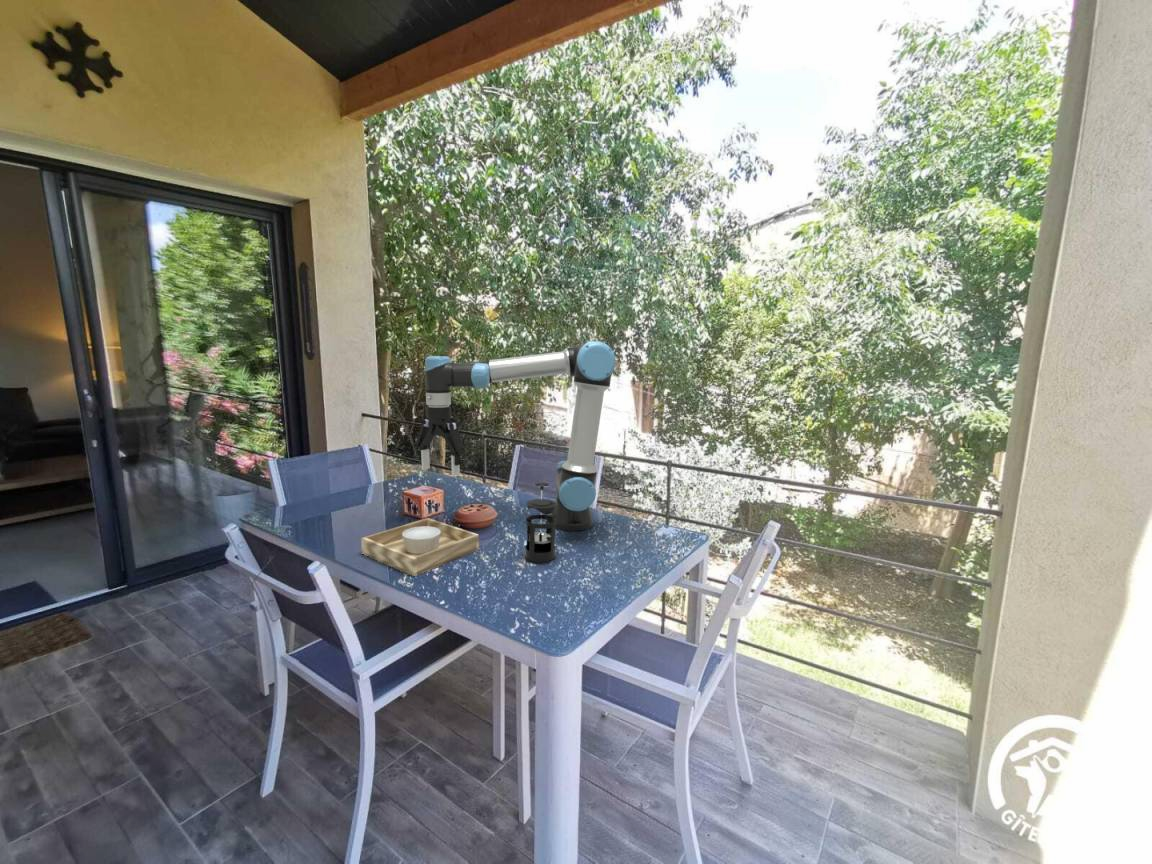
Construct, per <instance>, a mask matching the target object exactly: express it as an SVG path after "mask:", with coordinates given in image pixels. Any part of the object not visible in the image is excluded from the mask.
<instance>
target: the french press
mask: <svg viewBox="0 0 1152 864" xmlns="http://www.w3.org/2000/svg"><path fill="white" fill-rule="evenodd" d="M534 486H536V487H539V489H540V498H538V499H537V498H536V499H531V500H528V501H526V503H525V505H526V506H527V511H529V510H530V509H535V510H537V511H539V512H540V514H533V515H528V516H527V517H526V518H525V525H526V545H525V548H524V558H523V559H524V560H525V561H526V562H527V563H530V564H534V563H535V565H544V564H543V563H547V564H549V563H548V562H551V561H553V560H554V561H555V560H556V559H555V558H557V556H556V545H555V543H556V542H555V539H556V538H555V536H556V532H555V531H556V528H555V525H556V518H555V515H552V513H553V512H555V506H556V505H557V503H556V500H555V501H554V500H551V499H546V498H543V491H544V487H548V486H550V483H548V482H544V481H541V482H539V481H538V482H536V483H534ZM532 520H540V521H539V522H540V523H533V522H532ZM543 520H546V523H544V524H542V522H543ZM536 529H539V531H540V532H538V531H537V532H536ZM543 529H545V532H543V531H542V530H543ZM554 561H553V562H554ZM551 563H552V562H551Z"/></svg>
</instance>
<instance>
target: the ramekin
mask: <svg viewBox="0 0 1152 864" xmlns="http://www.w3.org/2000/svg"><path fill="white" fill-rule="evenodd" d="M440 535H441V531H440V530H439V529H438V528H435V527H429V526H421V527H414V528H410V529H407V530H405V531H404V532H403V533H402V538H403V541H404V546H405V549H406V551H407V552H409V553H412V554H424V553H427V552H429V551H432V550H435V549H437V548H438V545H439V539H440Z"/></svg>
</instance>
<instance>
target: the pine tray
mask: <svg viewBox="0 0 1152 864" xmlns="http://www.w3.org/2000/svg"><path fill="white" fill-rule="evenodd" d="M421 526H429V527H435V528H438V529H439V530H440V531H441V535H440V539H439V545H438V548H437V549H435V550H432V551H429V552H427V553H424V554H412V553H409V552H407V551H406V549H405V546H404V541H403V538H402V533H403V532H404V531H405V530H407V529H410V528H414V527H421ZM360 542H361V555H362V554H364V555H363V556H365V555H366V556H365V557H367V556H369V557H371V558H370V559H372V558H373V559H372V560H374V559H375V561H376V560H377V562H379V563H381V564H383V563H384V565H385V566H388V567H390V566H391V568H392V567H393V569H395V570H397V571H399V570H400V572H402V573H404V572H405V573H404V574H406V573H407V574H406V575H409V574H410V575H409V576H411V575H412V577H413V576H415V577H417V576H420V575H422V574H425V573H427V572H430V571H431V569H432V570H434V569H436V567H437V568H439V567H442V566H443V565H446V564H448V563H450V562H453V561H456V560H459V559H461V558H463V557H465V556H468V555H470V554H473V553H474V552H478V551H479V549H480V534H478V533H475V532H472V531H469V530H466V529H463V528H460V527H456V526H454V525H452V524H447V523H445V522H442V521H438V520H435V519H432V518H429V517H426V518H423V519H420V520H416V521H412V522H409V523H406V524H403V525H399V526H396V527H392V528H389V529H387V530H382V531H380V532H377V533H373V534H370V535H366V536H363V537H361V538H360ZM369 557H368V558H369ZM441 565H442V566H441ZM426 571H427V572H426ZM424 572H425V573H424ZM421 573H422V574H421ZM419 574H420V575H419Z"/></svg>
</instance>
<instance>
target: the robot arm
mask: <svg viewBox="0 0 1152 864" xmlns="http://www.w3.org/2000/svg"><path fill="white" fill-rule="evenodd" d="M424 361H425V362H424V378H425V379H424V381H425V383H424V384H425V405H427V407H425V410H426V412H425V414H426V419H421V422H420V429H419V432H418V435H417V438H416V441H415V447H416V448H418V449H419V451H420V459H421V470H422V471H426V470H430V469H431V465H430V464H431V463H430V460H431V459H430V448H429V446H430V444H431V443H432V441H433V440H434V438H435V436H438V437H442V439H444V441H445V443H446V445H447V446H448V448H449V449H450V452H452V453H451V455H450V457H451V458H450V459H451V460H450V461H451V464H450V465H451V476H452V477H454V476H455V477H456V476H459V475H461V468H460V467H461V466H460V465H461V463H462V459H461V455H462V454H465V453H467V451H466V448H465V447H466V446H465V445H464V442H463V439H462V437H461V433H460V431H459V425H458V422H450V419H451V418H452V407H451V405H452V397H451V396H452V394H451V393H452V392H451V388H476V389H479V388H487V387H489V385H490V384H492V383H498V382H499V383H501V382H508V381H515V380H516V381H517V380H525V379H533V378H542V377H550V376H557V375H567V376H568V377H573V384H574V385H575V387H576V389H577V390H576V396H575V403H574V410H573V417H572V424H571V425H572V426H571V431H570V439H569V444H568V445H569V446H568V453H567V459H566V460H561V461H558V462H557V465H556V466H557V467H556V494H555V496H556V498H555V502H556V503H557V505H556V506H555V512H553V513H551V515H555V518H556V525H555V529H557V528H558V529H557V530H561V529H562V530H561V531H566V530H569V531H570V532H577V531H576V530H581V531H585V530H584V529H586V530H588V529H587V528H589V529H590V527H591V526H592V525H593V524H594V517H593V516H592V515H593V514H592V511H591V506H592V505H593V503H594V502H595V500H596V495H597V492H596V490H597V489H596V487H595V486H596V479H597V474H598V469H597V468H596V466H595V464H594V463H595V462H594V461H595V454H596V449H597V441H598V435H599V429H600V421H601V414H602V407H603V402H604V394H605V392H606V390H608V389H609V388H610V387H611V381H612V374H613V373H614V371H615V367H616V355H615V353H614V351H613V349H612V348H611V347H610V346H609V345H608V344H606V343H605V342H602V341H598V340H597V341H596V340H593V341H592V340H591V341H589V342H586V343H583V344H579V345H576V346H572V347H570V346H569V347H566V348H564V350H562V351H556V352H555V351H554V352H547V353H538V354H537V353H536V354H530V355H521V356H514V357H506V358H505V357H504V358H497V359H490V360H482V361H477V360H476V361H470V362H451V358H450V357H449V356H441V355H436V356H435V355H434V356H433V355H432V356H431V355H430V356H427V357H425V359H424ZM592 527H593V526H592ZM592 527H591V528H592ZM569 531H568V532H569Z"/></svg>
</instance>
